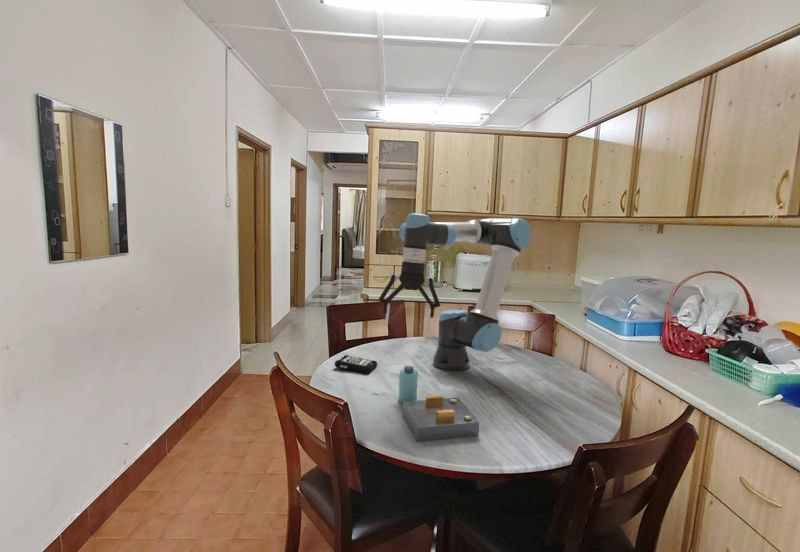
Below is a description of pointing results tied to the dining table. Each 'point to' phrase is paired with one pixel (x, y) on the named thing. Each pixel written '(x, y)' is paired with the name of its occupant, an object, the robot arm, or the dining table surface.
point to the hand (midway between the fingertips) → (407, 325)
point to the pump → (408, 384)
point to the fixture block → (439, 419)
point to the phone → (356, 364)
